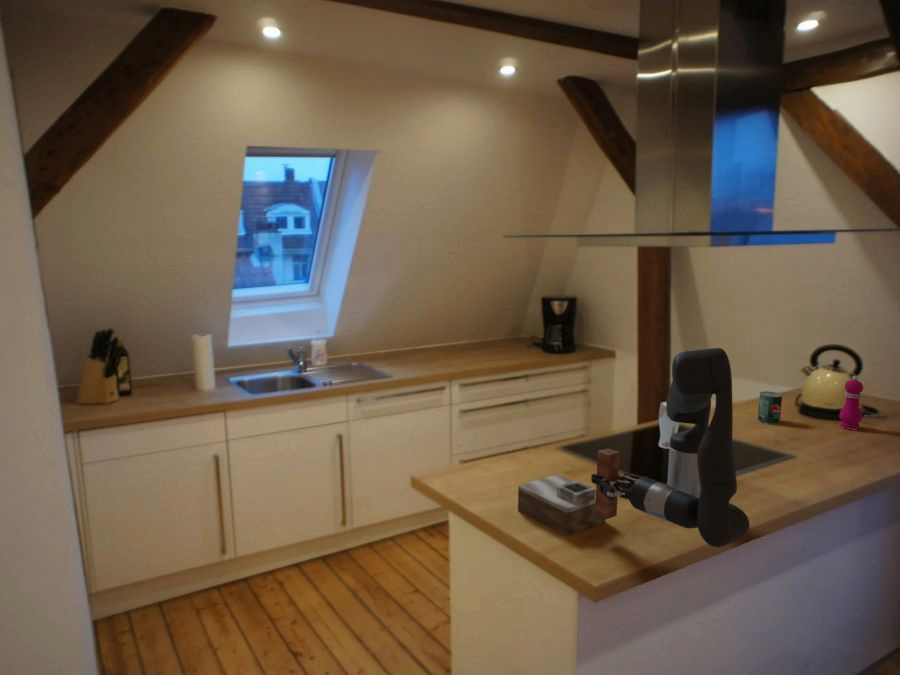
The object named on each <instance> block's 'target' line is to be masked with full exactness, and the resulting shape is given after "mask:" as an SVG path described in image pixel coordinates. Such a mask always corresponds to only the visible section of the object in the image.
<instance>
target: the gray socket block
mask: <svg viewBox="0 0 900 675" xmlns="http://www.w3.org/2000/svg"><path fill="white" fill-rule="evenodd" d="M517 489H518V491H517V492H518V494H517V496H518V497H517V511H518V512H520V513H522V514H524V515H526V516H527V517H529V518H531V519H534V520H535V521H537V522H538V523H541V524H543V525H544V526H546V527H548V528H551V529H552V530H554V531H556V532H558V533H560V534H562V535H564V536H565V537H567V536H570V535H573V534H576V533H579V532H582V531H584V530H587V529H589V528H592V527H595V526H598V525H600V524H603V523H606V521H607V519H604V518H602V517H600V516H598V515H596V514H595V504H596V488H594V487H592V486H589V485H588V484H587V485H586V484H584V483H583V482H580V481H577V480H574V481H573V480H571V479H568V478H566V477H563V476H562V475H559V474H554V475H551V476H547V477H543V478H540V479H536V480H532V481H530V482H527V483H526V482H525V483H523V484H520V485H518V488H517Z"/></svg>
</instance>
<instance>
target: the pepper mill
mask: <svg viewBox="0 0 900 675" xmlns="http://www.w3.org/2000/svg"><path fill="white" fill-rule="evenodd" d="M844 390H845V392H844V393H845V403H844V405H843V407H842V409H840V412H839V420H841V421H840V423H839V427H840V426H841V427H844V428H850V429H858V428H859V429H860V424H859V423H860V422H861V421H862V419H863V418H862V417H863V416H862V412H861V408H860V405H859V402H860V398H862V397H861V395H862V394H861V393H862V392H863V390H864V385H863V383H862V382H861V381H860V380H858V377H857V376H856V375H853V376H852V378H851V379H850V380H849V379H848V380H847V381H846V382H845V383H844ZM841 427H840V428H841Z"/></svg>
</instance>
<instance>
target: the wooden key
mask: <svg viewBox="0 0 900 675" xmlns="http://www.w3.org/2000/svg"><path fill="white" fill-rule="evenodd" d="M619 470H620V451H618V450H614V449H611V448H609V447H608V448H607V447H606V448H604V449H600V450H597V462H596V474H597V475H599V476H602V477H604V478H607V479H611V480H613V479H618V476H619V474H620V473H619ZM608 484H609V485H610V486H611V484H610V483H608ZM616 484H617V483H616ZM595 485H596V484H595ZM595 489H596V490H595V491H596V504H595V514H596V515H598V516H600V517H602V518H604V519H606V520H609V519H612V518H615V517H617V515H618V514H617V513H618V497H619V496H614V500H609V499H608V498H607V497H606V496H604V495H603V494H602V493H601V492H599V485H596V486H595Z"/></svg>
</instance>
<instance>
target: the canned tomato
mask: <svg viewBox="0 0 900 675" xmlns="http://www.w3.org/2000/svg"><path fill="white" fill-rule="evenodd" d="M758 400H759V402H758V411H757V422H759V421H760V422H759V423H761V422H763V423H762V424H765V423H767V424H766V425H779V424H780V423H781V414H782V412H781V411H782V403H783V402H782V400H783V394H781V393H779V392H777V391H776V392H775V391H766V390H765V391H760V392H759V399H758ZM778 423H779V424H778Z"/></svg>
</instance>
